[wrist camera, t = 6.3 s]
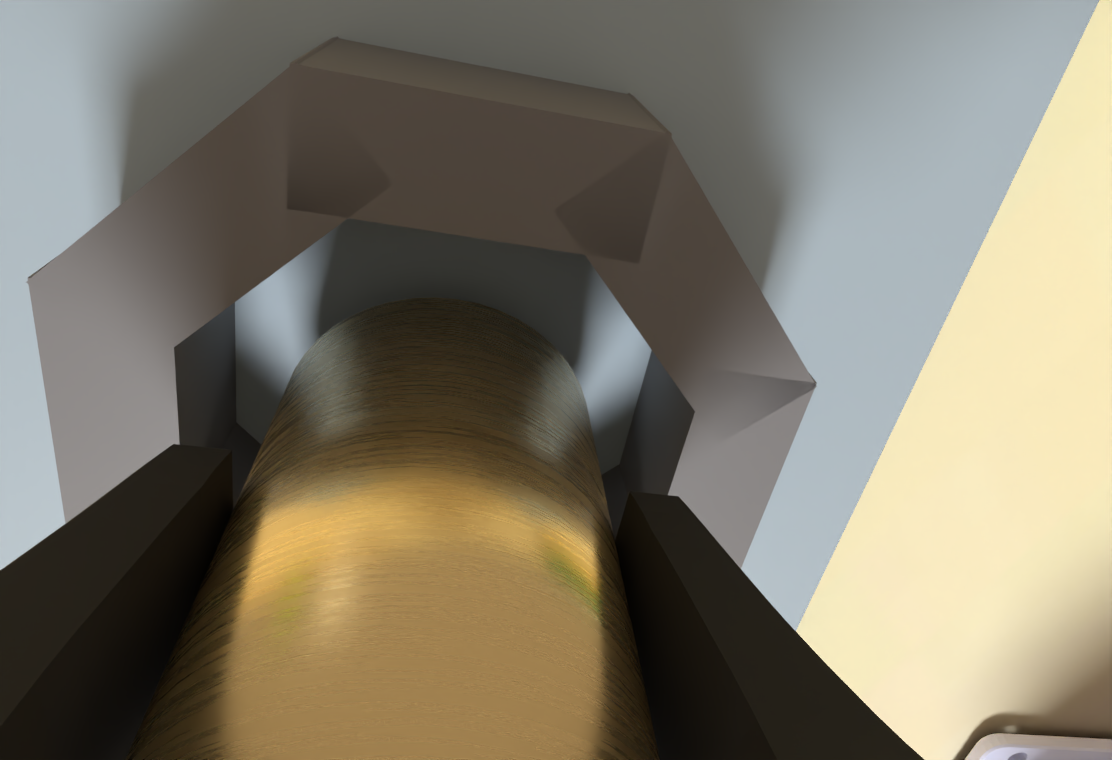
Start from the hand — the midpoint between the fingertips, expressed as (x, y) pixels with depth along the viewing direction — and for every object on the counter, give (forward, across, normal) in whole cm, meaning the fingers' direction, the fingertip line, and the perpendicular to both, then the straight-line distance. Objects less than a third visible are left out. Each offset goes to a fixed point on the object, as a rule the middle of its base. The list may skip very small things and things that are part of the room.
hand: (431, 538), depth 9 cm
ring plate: (+5, 0, 0) cm, 5 cm away
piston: (+3, 0, 0) cm, 3 cm away
